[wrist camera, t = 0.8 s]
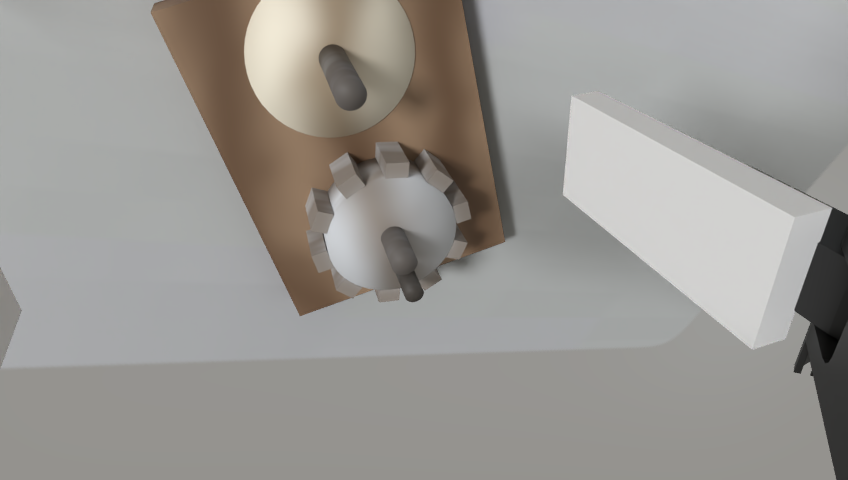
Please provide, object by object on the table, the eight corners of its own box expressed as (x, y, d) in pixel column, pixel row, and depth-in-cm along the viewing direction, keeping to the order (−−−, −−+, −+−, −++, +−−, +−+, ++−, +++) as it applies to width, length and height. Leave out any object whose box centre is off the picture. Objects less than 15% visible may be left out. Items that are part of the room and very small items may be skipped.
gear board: (436, -84, 33) (487, -63, 27) (495, 227, 46) (538, 290, 40) (154, 3, 32) (137, 46, 26) (297, 298, 45) (309, 376, 39)
